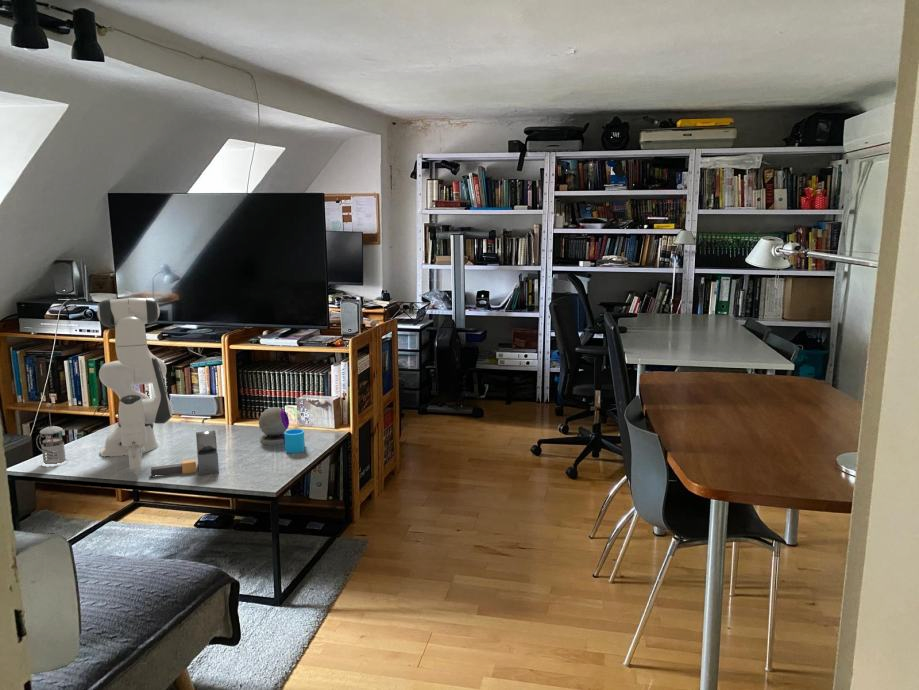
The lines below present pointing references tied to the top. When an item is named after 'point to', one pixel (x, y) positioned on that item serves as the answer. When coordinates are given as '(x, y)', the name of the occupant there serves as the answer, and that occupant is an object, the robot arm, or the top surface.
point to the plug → (175, 468)
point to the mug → (294, 441)
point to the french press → (56, 452)
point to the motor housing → (207, 452)
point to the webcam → (273, 425)
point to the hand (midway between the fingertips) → (137, 473)
